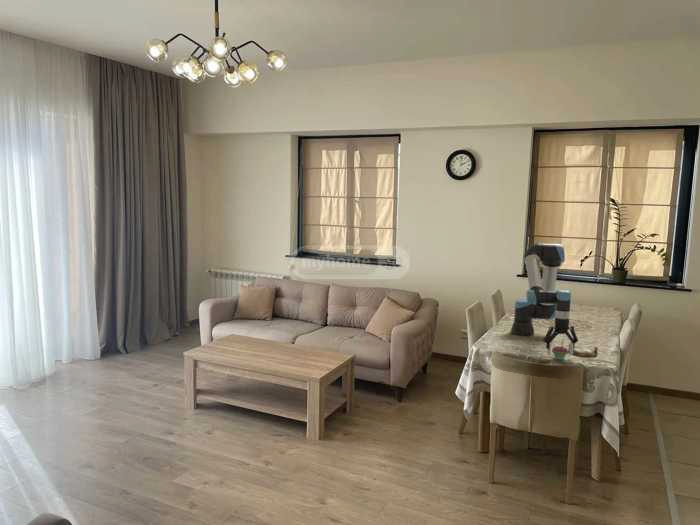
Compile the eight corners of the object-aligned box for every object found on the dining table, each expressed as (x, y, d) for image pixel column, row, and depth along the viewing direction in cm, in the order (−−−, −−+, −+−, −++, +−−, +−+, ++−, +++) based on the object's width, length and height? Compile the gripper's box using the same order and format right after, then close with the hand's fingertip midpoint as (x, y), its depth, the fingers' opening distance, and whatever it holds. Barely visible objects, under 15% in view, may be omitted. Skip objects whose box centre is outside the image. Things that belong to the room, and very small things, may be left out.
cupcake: (559, 355, 307) (560, 335, 305) (570, 360, 299) (572, 339, 298) (548, 357, 303) (549, 337, 302) (559, 361, 296) (560, 341, 294)
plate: (577, 357, 304) (578, 350, 303) (562, 349, 320) (563, 342, 319) (603, 356, 306) (603, 349, 306) (587, 348, 322) (587, 341, 321)
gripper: (545, 319, 293) (542, 356, 295) (586, 318, 296) (583, 355, 299) (538, 316, 300) (536, 352, 303) (578, 315, 304) (576, 351, 306)
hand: (559, 354), depth 301 cm, fingers open, 13 cm apart
